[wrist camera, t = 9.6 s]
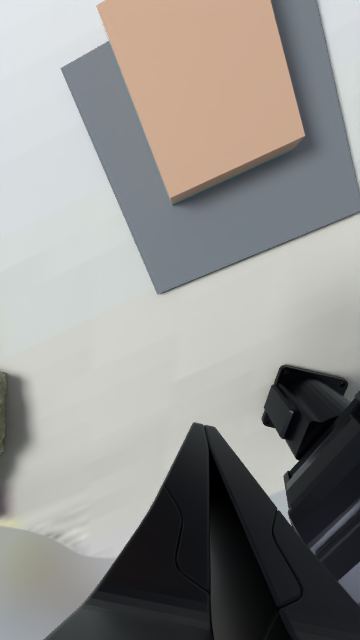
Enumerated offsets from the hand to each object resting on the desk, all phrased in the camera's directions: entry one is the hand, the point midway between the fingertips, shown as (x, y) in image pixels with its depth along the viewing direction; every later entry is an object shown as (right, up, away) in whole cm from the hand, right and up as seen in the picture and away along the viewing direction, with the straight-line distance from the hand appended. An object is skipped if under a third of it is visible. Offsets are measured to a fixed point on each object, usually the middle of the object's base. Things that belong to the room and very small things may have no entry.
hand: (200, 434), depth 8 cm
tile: (+3, +15, +8) cm, 18 cm away
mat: (+2, +18, +9) cm, 20 cm away
